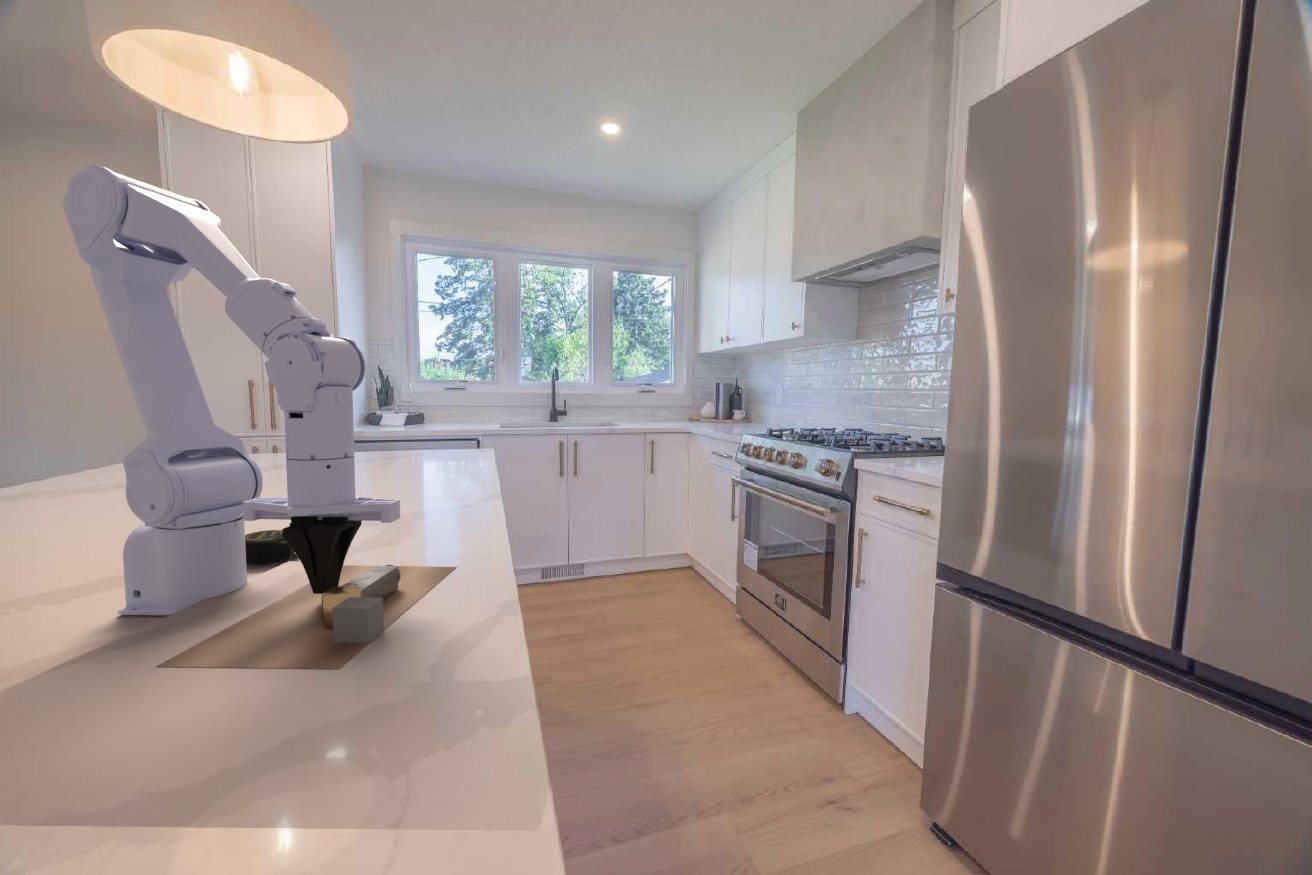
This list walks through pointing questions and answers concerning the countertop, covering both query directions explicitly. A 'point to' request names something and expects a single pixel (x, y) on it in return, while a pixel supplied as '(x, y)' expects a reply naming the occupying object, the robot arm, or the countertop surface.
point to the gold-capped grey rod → (361, 589)
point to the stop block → (357, 620)
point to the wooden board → (301, 628)
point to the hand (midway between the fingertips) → (325, 590)
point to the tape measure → (267, 547)
